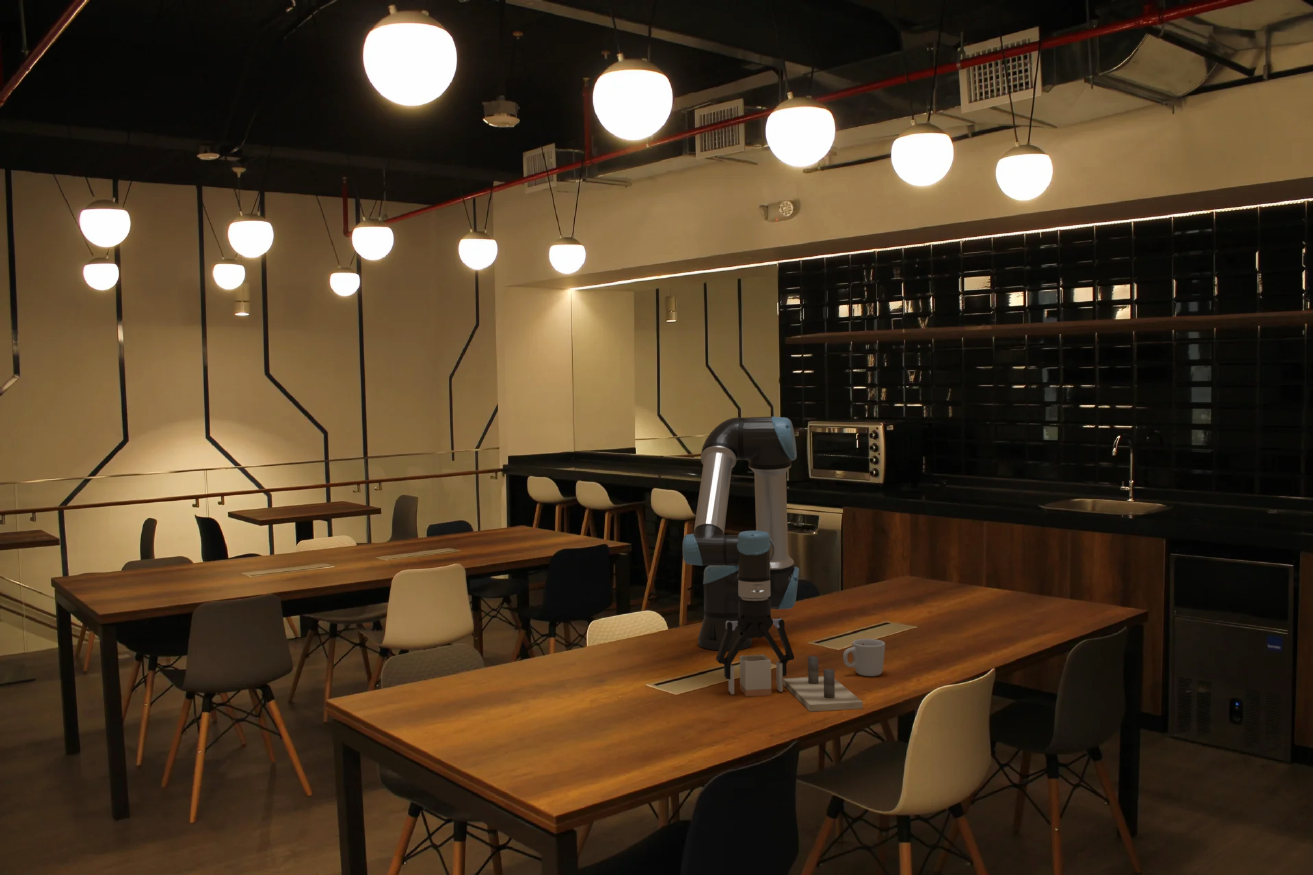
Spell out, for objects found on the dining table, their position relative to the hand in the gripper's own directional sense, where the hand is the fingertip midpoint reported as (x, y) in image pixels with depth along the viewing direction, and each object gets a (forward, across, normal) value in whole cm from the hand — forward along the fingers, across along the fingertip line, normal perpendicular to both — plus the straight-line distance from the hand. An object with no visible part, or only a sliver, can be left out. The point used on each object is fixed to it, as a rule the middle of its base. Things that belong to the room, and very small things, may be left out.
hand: (755, 691), depth 234 cm
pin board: (0, +14, -6) cm, 15 cm away
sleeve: (0, 0, 0) cm, 0 cm away
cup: (0, +30, +10) cm, 32 cm away
